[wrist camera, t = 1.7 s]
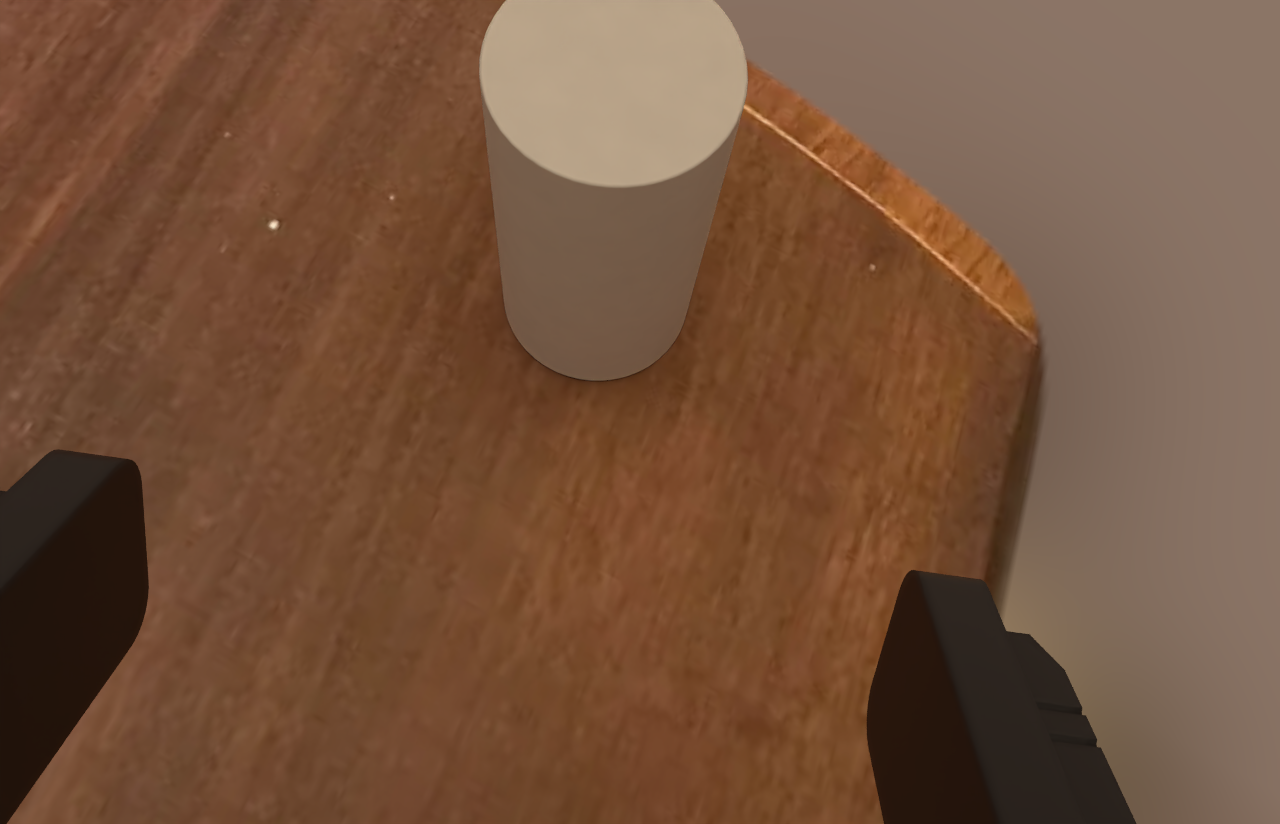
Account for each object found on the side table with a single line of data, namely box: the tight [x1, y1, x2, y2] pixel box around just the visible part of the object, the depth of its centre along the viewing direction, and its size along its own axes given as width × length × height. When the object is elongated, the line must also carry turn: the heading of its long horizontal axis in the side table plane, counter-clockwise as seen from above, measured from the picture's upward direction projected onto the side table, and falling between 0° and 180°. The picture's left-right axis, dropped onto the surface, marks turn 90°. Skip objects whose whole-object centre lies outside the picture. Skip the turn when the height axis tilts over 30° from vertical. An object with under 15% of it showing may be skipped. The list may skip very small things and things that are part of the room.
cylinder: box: [479, 0, 748, 381], centre depth 23 cm, size 4×4×9 cm
